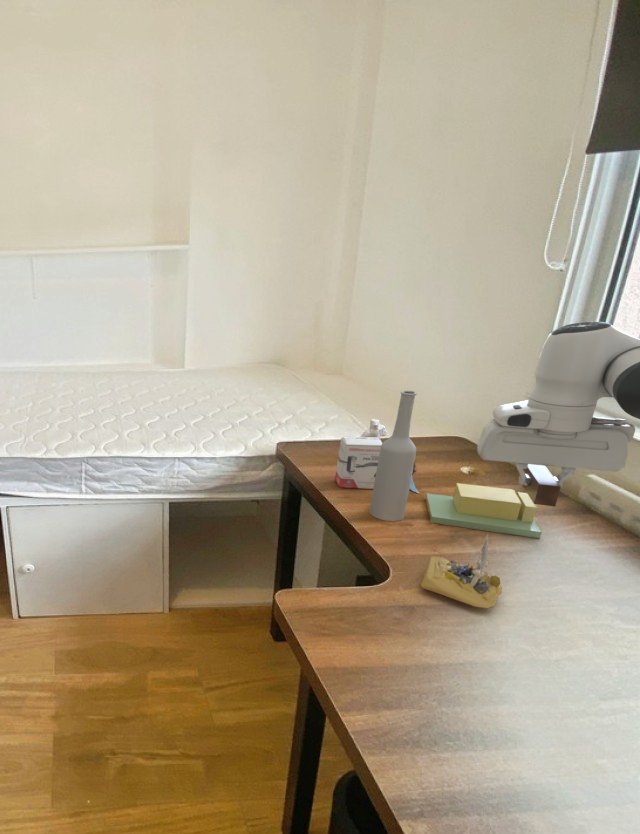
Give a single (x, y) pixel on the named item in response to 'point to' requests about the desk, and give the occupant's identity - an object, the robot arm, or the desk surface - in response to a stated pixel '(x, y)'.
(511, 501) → the butter
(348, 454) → the ink box
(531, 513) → the butter pat
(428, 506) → the butter dish
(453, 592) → the toy boat
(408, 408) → the bottle
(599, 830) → the desk surface
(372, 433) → the koala figurine
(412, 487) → the knife
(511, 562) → the desk surface
